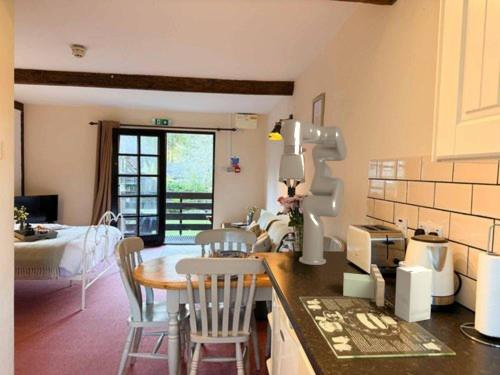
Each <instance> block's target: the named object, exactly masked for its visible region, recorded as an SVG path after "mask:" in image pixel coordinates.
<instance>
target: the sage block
mask: <svg viewBox="0 0 500 375" xmlns="http://www.w3.org/2000/svg"><path fill="white" fill-rule="evenodd" d="M342 284H343V285H342V292H343V294H342V295H343V296H344V297H352V298H363V299H371V300H375V299H374V290H375V281H374V278H373V275H370V274H360V273H351V272H343V282H342Z"/></svg>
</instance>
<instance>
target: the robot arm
mask: <svg viewBox="0 0 500 375" xmlns="http://www.w3.org/2000/svg"><path fill="white" fill-rule="evenodd" d="M280 137H281V139H282V140H283V152H282V153H283V154H281V156H280V162H279V168H278V169H279V170H278V182H280V183H282V184H284V185H285V186H286V188H287V196H288V198H294V197H295V196H296V187H297V186H299V185H300V184H303V183H306V181H307V180H306V158H305V154H304V153H306V152H307V148H305V147H303V144H313V145H314V146H312V149H311V157H312V162H313V167H314V174H313V177H312V180H311V182H310V183H311V184H310V188H309V189H310V193H311V195H307V196H304V198H303V199H302V203H301V205H302V213H303V234H302V235H303V237H302V238H303V239H302V256H300V257H299V259H298V262H300V263H301V264H305V265H312V266H319V265H321V266H322V265H325V264H327V260H326V258H324V238H325V235H324V234H325V225H324V221H323V220H322V218H321V217H324V218H325V217H327V218H337V216H338V215H339V213H340V211H341V206H342V203H343V199H344V193H345V183H344V181H343V179H341V178H339V177H332V176H333V170H332V168H331V167H330V166H329V164H328V163H327V162H341V161H344V160H345V159H346V158H347V154H348V150H347V144H346V141H345V138H344V137H345V136H344V134H343V132H342V129H341V128H340V127H339V126H336V125H335V126H331V125H330V126H320V125H317V124H314V123H312V122H309V121H303V120H302V119H297V118H295V119H294V118H293V119H291V118H290V119H286V120H285V121H284V123H283V124H282V125H281V128H280ZM326 161H327V162H326ZM291 180H293V182H292V183H293V184H292V185H291Z"/></svg>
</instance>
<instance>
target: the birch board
mask: <svg viewBox="0 0 500 375" xmlns="http://www.w3.org/2000/svg"><path fill="white" fill-rule="evenodd" d="M369 270H370V271H369V273H370V274H369V275H373V278H374V281H375V290H374V299H373V300H374V302H375V304H376V306H377V307H384V305H385V285H386V282H385V280H384V278H383V276H382V273H381V272H380V269H379V268H378V266H377V264H373V263H371V264H370V269H369Z"/></svg>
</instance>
